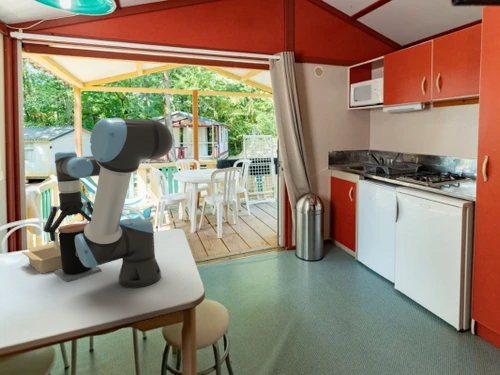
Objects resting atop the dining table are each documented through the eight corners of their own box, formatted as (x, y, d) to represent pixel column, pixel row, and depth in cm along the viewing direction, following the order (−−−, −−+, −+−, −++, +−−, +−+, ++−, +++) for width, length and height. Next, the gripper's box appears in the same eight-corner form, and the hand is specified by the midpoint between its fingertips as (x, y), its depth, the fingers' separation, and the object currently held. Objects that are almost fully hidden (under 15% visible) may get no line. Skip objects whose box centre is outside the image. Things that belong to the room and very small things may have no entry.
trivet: (101, 271, 130) (101, 268, 130) (66, 282, 120) (66, 279, 120) (87, 263, 139) (87, 261, 138) (54, 273, 129) (54, 270, 129)
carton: (99, 259, 144) (98, 245, 143) (36, 277, 125) (35, 261, 124) (80, 249, 157) (79, 236, 156) (21, 264, 138) (19, 250, 138)
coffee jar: (79, 276, 123) (75, 231, 120) (56, 274, 125) (51, 229, 123) (98, 265, 133) (94, 223, 131) (76, 264, 136) (71, 222, 133)
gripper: (97, 187, 136) (102, 235, 139) (29, 195, 118) (36, 250, 120) (105, 188, 131) (110, 238, 134) (36, 196, 113) (43, 254, 116)
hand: (75, 244), depth 127 cm, fingers open, 13 cm apart
